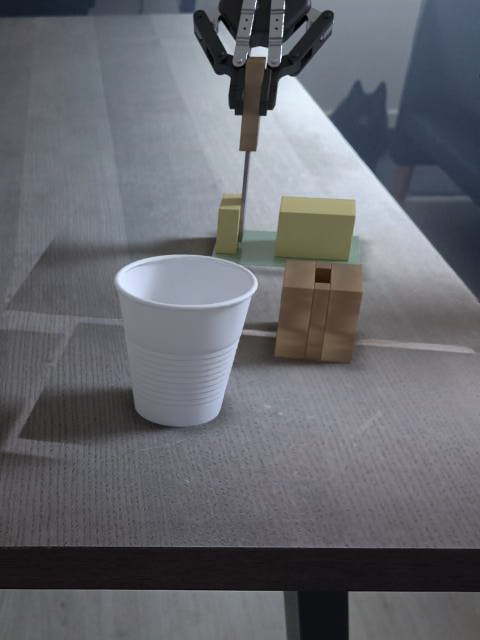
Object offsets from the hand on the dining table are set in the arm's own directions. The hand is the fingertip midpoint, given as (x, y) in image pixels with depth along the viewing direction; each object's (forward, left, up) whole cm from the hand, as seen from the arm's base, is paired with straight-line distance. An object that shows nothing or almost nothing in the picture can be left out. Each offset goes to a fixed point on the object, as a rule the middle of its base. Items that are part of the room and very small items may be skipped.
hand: (250, 110), depth 95 cm
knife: (-2, -1, -13) cm, 13 cm away
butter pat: (-1, -2, -14) cm, 14 cm away
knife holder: (+9, +18, -15) cm, 25 cm away
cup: (+25, +19, -15) cm, 35 cm away
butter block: (-6, +4, -14) cm, 15 cm away
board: (-5, +2, -15) cm, 16 cm away
